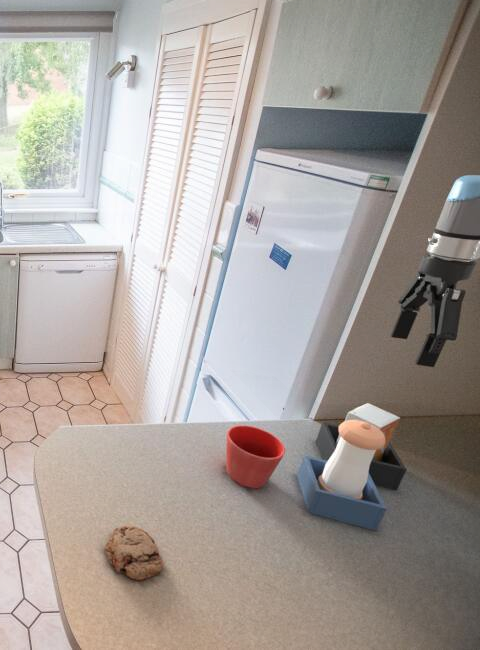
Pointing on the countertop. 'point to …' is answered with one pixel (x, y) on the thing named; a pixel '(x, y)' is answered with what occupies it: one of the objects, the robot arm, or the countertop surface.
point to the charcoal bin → (382, 471)
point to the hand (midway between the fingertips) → (410, 350)
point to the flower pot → (252, 455)
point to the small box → (375, 423)
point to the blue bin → (339, 498)
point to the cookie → (134, 553)
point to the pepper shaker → (351, 459)
